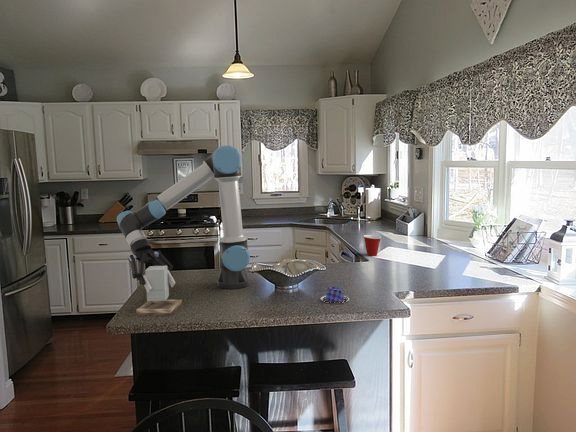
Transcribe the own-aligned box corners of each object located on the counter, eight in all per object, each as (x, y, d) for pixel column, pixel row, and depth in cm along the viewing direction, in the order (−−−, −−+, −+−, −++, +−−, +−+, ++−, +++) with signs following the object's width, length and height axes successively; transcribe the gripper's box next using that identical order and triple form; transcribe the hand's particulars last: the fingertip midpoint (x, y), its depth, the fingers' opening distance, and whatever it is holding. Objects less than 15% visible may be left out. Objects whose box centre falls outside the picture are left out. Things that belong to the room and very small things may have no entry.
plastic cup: (381, 257, 277) (381, 237, 276) (363, 257, 279) (363, 237, 278) (381, 253, 288) (381, 234, 286) (363, 253, 290) (363, 234, 289)
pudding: (355, 300, 195) (355, 288, 195) (336, 306, 187) (336, 294, 187) (333, 294, 204) (333, 282, 203) (314, 300, 196) (314, 288, 195)
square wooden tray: (182, 304, 193) (182, 299, 193) (170, 315, 180) (170, 310, 179) (150, 303, 195) (150, 299, 195) (135, 314, 181) (135, 309, 181)
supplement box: (169, 295, 191) (168, 265, 189) (165, 301, 183) (164, 269, 182) (151, 296, 190) (149, 265, 189) (146, 301, 183) (144, 269, 181)
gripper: (159, 245, 203) (182, 287, 194) (109, 253, 187) (132, 299, 178) (165, 234, 199) (189, 276, 190) (115, 241, 182) (139, 288, 174)
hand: (161, 287), depth 184 cm, fingers closed on supplement box, 10 cm apart
